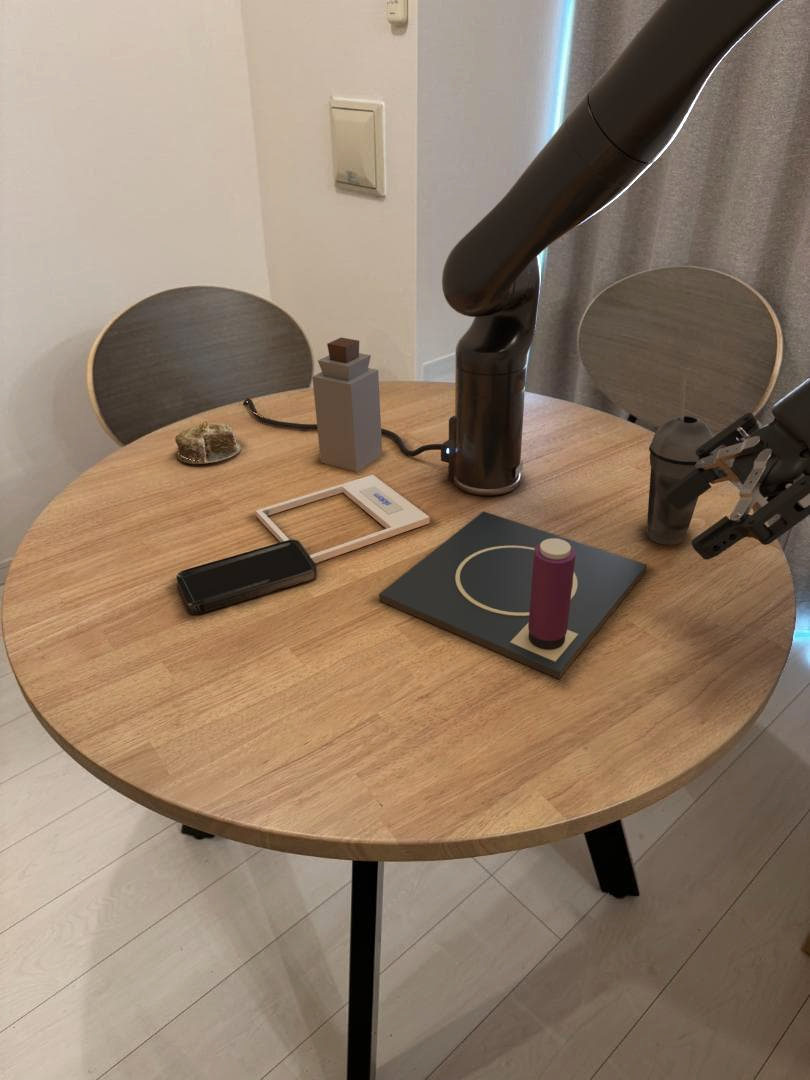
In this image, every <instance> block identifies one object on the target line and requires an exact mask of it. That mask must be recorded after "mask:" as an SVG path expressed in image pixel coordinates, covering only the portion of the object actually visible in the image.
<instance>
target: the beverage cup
mask: <svg viewBox="0 0 810 1080" xmlns="http://www.w3.org/2000/svg"><path fill="white" fill-rule="evenodd" d="M686 384H687V379H682V380H680V394H679V395H680V396H679V410H678V412H679V413H678V415H677V416H675V417H672V418H669V419H668V420H666V421H665V422H664V423H662V424H661V425H660V426H659V427H658V428H657V430H656V431H655V432H654V435H653V437H652V441H651V442H650V444H649V447H648V451H649V466H650V475H649V489H648V504H647V505H648V506H647V518H646V523H647V525H646V528H647V531H646V535H647V537H648V538H649V539H650V540H651V541H653V542H656V543H658V544H661V545H666V546H673V545H679V544H681V543H683V542H684V541H685V539H686V535H687V533H688V530H689V528H690V524H691V522H692V518H693V516H694V512H695V509H696V506H697V503H698V499H699V497H697V498H696V499H695V500H693V501H692V502H691V503H689V504H688V505H686V506H685V507H684V508H682V509H676V508H675V507H674V506H673V505H672V504H671V503H670V502H669V501H668V500H667V498H666V496H665V492H666V491H667V490H668V489H670V488H671V487H672V486H673V485H674V484H676V483H677V482H679V481H680V480H682V478H684V477H685V476H686V475H688V474H689V473H690V472H692V471H693V470H694V469H695V468H696V467H695V465H696V463H697V462H698V461H699V457H698V456H697V455H696V450H697V449H698V448H699V447H700V446H702V445H703V444H705V443H706V442H707V441H709V440H710V439H711V438H713V437H714V434H713V432H712V430H711V429H710V428H709V427H708V424H706V423H705V422H704V421H703V420H700V419H699V418H697V417H694V416H691V415H685V406H686V390H687V389H686V387H687V385H686ZM712 452H713V453H714V455H716V454H715V450H713V451H712Z"/></svg>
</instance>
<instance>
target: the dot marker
mask: <svg viewBox="0 0 810 1080" xmlns="http://www.w3.org/2000/svg"><path fill="white" fill-rule="evenodd" d="M575 556H576V552H575V550H574V549H573V548H572V547H571V546H570V544H569V543H568V542H566V541H564V540H561V539H555V538H552V539H546V540H544V541H543V542H542V543H540V544H538V545H537V546H536V547H535V549H534V560H533V573H532V586H531V599H530V611H529V624H528V629H529V640H530V642H531V643H532V644H533V645H534V646H536V647H538V648H541V649H546V650H552V649H557V648H559V647H561V646H562V645H563V644H564V642H565V635H566V633H567V626H568V618H569V609H570V600H571V591H572V583H573V574H574V565H575Z"/></svg>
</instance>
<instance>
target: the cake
mask: <svg viewBox="0 0 810 1080" xmlns="http://www.w3.org/2000/svg"><path fill="white" fill-rule="evenodd" d="M174 441H175V443H176V445H177V453H176V459H177V460H178V461H180V462H183V463H185V464H186V463H187V464H192V465H204V464H210V463H211V464H213V463H218V462H221V461H224V460H227V459H229V458H232V457H234V456H235V455H237V454H239V453H240V452H241V450H242V446H241V444H239V442H238V441H237V435H236V434H235V431H234V428H233V427H232V426H231V425H229V423H218V422H216V423H213V422H209V423H208V421H203V422H202V423H201V424H197V425H194V426H190V427H188V428H185V429H182V431H181V432H180V433H179V434H176V435H175V437H174ZM178 450H179V451H178ZM178 452H179V453H180V454H179V455H178ZM180 455H182V456H184V457H186V458H188V459H186V458H183V457H181V456H180ZM189 459H191V460H189ZM193 460H195V461H193ZM198 460H199V461H198Z"/></svg>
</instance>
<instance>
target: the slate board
mask: <svg viewBox="0 0 810 1080" xmlns="http://www.w3.org/2000/svg"><path fill="white" fill-rule="evenodd" d="M552 538H555V539H561V540H564V541H566V542H568V543H569V544H570V546H571V547H572V548H573V549H574V550H575V552H576V556H575V565H574V574H573V583H572V591H571V600H570V609H569V618H568V626H567V633H566V635H565V642H564V644H563V645H562V646H561V647H559V648H557V649H552V650H546V649H541V648H538V647H536V646H534V645H533V644H532V643H531V642H530V640H529V629H528V624H529V611H530V599H531V586H532V573H533V560H534V549H535V547H536V546H537V545H538V544H540V543H542V542H543V541H544V540H546V539H552ZM647 568H648V564H646V563H643V562H640V561H637V560H634V559H630V558H627V557H625V556H622V555H619V554H616V553H613V552H610V551H607V550H603V549H600V548H597V547H594V546H591V545H588V544H585V543H582V542H579V541H575V540H572V539H569V538H567V537H563V536H560V535H557V534H554V533H551V532H548V531H545V530H542V529H539V528H536V527H533V526H529V525H527V524H524V523H521V522H517V521H514V520H512V519H508V518H505V517H502V516H499V515H496V514H493V513H490V512H487V511H482V512H481V513H480V514H478V515H477V516H476V517H474V518H473V519H472V520H470V521H469V522H468V523H467V524H465V525H464V526H463V527H462V528H460V529H459V530H458V531H457V532H455V533H454V534H453V535H452V536H450V537H449V538H448V539H447V540H445V541H444V542H443V543H442V544H440V545H439V546H438V547H436V548H435V549H434V550H433V551H431V552H430V553H428V555H426V556H425V557H424V558H422V559H421V560H419V562H417V563H416V564H415V565H413V566H412V567H411V568H410V569H408V571H406V572H405V573H404V574H402V575H401V576H400V577H398V578H397V579H396V580H395V581H394V582H393V583H390V585H388V586H387V587H386V588H384V589H383V590H382V591H381V592H379V593H378V598H379V602H381V603H384V604H386V605H387V606H390V607H393V608H395V609H397V610H400V611H401V612H405V614H409V615H411V616H413V617H416V618H418V619H419V620H423V621H425V622H427V623H429V624H432V625H434V626H436V627H438V628H440V629H443V630H446V631H448V632H450V633H453V634H455V635H457V636H459V637H461V638H463V639H466V640H468V641H471V642H472V643H475V644H478V645H480V646H482V647H484V648H486V649H489V650H491V651H494V652H496V653H497V654H500V655H503V656H505V657H507V658H509V659H512V660H515V661H516V662H519V663H521V664H524V665H525V666H528V667H530V668H532V669H534V670H537V671H539V672H540V673H543V674H546V675H548V676H550V677H553V678H555V679H558V680H560V679H561V678H562V676H563V675H564V674H565V673H566V671H568V669H569V668H570V666H571V665H572V664H573V663H574V661H575V660H576V659H577V658H578V656H579V655H580V654H581V653H582V652H583V650H584V649H585V648H586V647H587V645H588V644H589V643H590V642H591V640H592V639H593V638H594V637H595V635H596V634H597V633H598V632H599V630H600V629H601V628H602V627H603V626H604V624H605V623H606V622H607V620H609V618H610V617H611V616H612V615H613V613H614V612H615V611H616V609H618V607H619V606H620V604H621V603H622V602H623V601H624V599H625V598H627V595H628V594H630V592H631V591H632V590H633V588H634V587H635V586H636V585H637V584H638V582H639V581H640V580H641V579H642V577H643V576H644V575H645V574H646V572H647Z"/></svg>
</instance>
